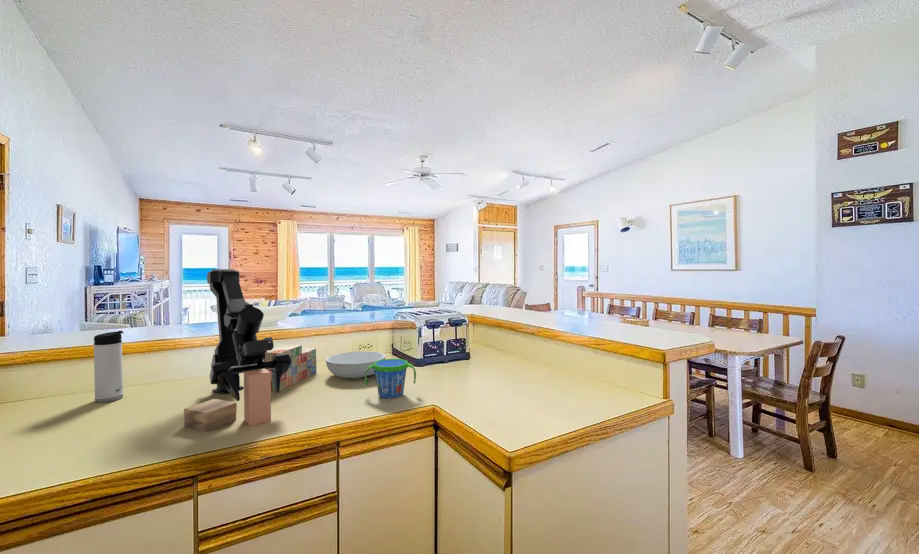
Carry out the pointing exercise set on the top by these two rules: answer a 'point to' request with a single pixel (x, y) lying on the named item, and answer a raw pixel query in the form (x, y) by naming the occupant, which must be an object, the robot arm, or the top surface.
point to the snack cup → (390, 376)
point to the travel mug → (108, 367)
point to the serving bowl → (353, 363)
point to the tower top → (210, 410)
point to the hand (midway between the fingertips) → (258, 396)
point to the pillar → (257, 396)
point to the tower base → (210, 425)
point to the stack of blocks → (294, 363)
